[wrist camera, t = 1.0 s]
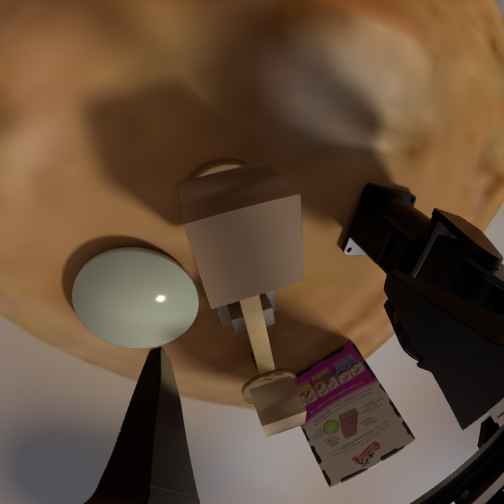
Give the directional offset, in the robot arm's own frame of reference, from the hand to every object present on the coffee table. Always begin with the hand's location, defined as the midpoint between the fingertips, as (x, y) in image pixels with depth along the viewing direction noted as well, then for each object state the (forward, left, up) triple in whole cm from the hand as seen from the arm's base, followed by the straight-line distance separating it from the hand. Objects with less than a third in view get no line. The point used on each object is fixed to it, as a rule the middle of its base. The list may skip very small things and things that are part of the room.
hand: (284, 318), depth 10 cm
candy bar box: (-17, +23, -11) cm, 30 cm away
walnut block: (0, 0, -9) cm, 9 cm away
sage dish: (+6, +8, -11) cm, 15 cm away
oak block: (-6, +17, -6) cm, 19 cm away
